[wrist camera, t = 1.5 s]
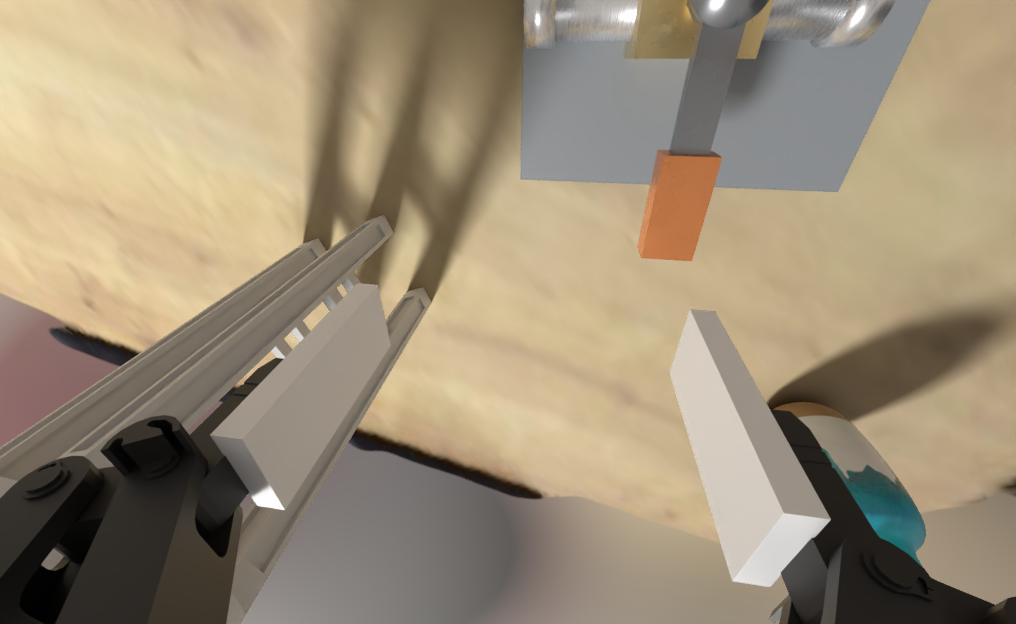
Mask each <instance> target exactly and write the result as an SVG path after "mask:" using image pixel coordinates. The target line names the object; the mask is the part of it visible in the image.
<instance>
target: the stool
mask: <svg viewBox="0 0 1016 624" xmlns="http://www.w3.org/2000/svg"><path fill="white" fill-rule="evenodd" d="M393 234H394V232H393V230H392V228H391V226H390V225H389V223H388V221H387V219H386V217H385V215H381V216H378V217H376V218H373V219H370V220H367V221H365V222H364V223H363V224H361V225H360V226H359V227H358V228H356V229H355V230H354V231H352V232H351V233H350V234H348V235H347V236H346V237H345V238H343V239H342V240H341V241H339V242H338V243H337V244H335V245H334V246H333V247H332V248H330V249H329V250H328V251H326V249H325V248H324V246H323V245H322V243H321V241H320V240H319V238H317V239H315V240H312V241H309V242H306V243H303V244H302V245H300V246H299V247H297V248H296V249H294V250H293V251H291V252H290V253H288V254H287V255H285V256H284V257H282V258H281V259H279V260H278V261H276V262H275V263H273V264H272V265H270V266H269V267H267V268H266V269H264V270H263V271H261V272H260V273H259V274H257V275H256V276H254V277H253V278H251V279H250V280H248V281H247V282H245V283H244V284H242V285H241V286H239V287H238V288H236V289H235V290H233V291H232V292H230V293H229V294H227V295H226V296H224V297H223V298H221V299H220V300H218V301H217V302H215V303H214V304H212V305H211V306H210V307H208V308H207V309H205V310H204V311H202V312H201V313H199V314H198V315H196V316H195V317H193V318H192V319H190V320H189V321H187V322H186V323H184V324H183V325H181V326H180V327H178V328H177V329H175V330H174V331H172V332H171V333H169V334H168V335H166V336H165V337H163V338H162V339H161V340H159V341H158V342H156V343H155V344H153V345H152V346H150V347H149V348H147V349H146V350H144V351H143V352H141V353H140V354H138V355H137V356H135V357H134V358H132V359H131V360H129V361H128V362H126V363H125V364H123V365H122V366H120V367H119V368H117V369H116V370H115V371H113V372H112V373H110V374H109V375H107V376H106V377H104V378H103V379H101V380H100V381H98V382H97V383H95V384H94V385H92V386H91V387H89V388H88V389H86V390H85V391H84V392H82V393H80V394H79V395H77V396H76V397H74V398H73V399H72V400H70V401H69V402H67V403H66V404H64V405H63V406H61V407H60V408H58V409H57V410H55V411H54V412H52V413H51V414H49V415H48V416H46V417H45V418H43V419H42V420H40V421H39V422H37V423H36V424H34V425H33V426H31V427H30V428H28V429H27V430H25V431H24V432H23V433H21V434H19V435H18V436H16V437H15V438H14V439H12V440H11V441H9V442H8V443H6V444H5V445H3V446H2V447H0V498H1V497H2V496H3V495H4V494H5V493H6V492H7V491H8V490H9V489H10V488H11V487H12V486H13V485H14V484H16V483H17V482H18V481H19V480H20V479H22V478H23V477H24V476H26V475H27V474H29V473H31V472H32V471H34V470H35V469H37V468H39V467H40V466H43V465H45V464H47V463H50V462H52V461H54V460H57V459H60V458H65V457H69V456H84V457H86V458H87V459H89V460H90V461H91V462H92V463H93V464H94V465H95V466H96V467H97V468H98V469H100V468H106V467H113V466H114V465H113V464H112V463H111V462H110V461H109V460H108V459H107V458H106V457H105V456H104V455H103V454H102V453H101V452H100V450H101V449H102V448H103V446H104V445H105V444H106V443H107V441H108V440H109V439H111V438H112V437H113V436H114V435H116V434H117V433H118V432H120V431H121V430H123V429H124V428H126V427H128V426H130V425H132V424H134V423H136V422H138V421H141V420H144V419H147V418H150V417H154V416H161V415H167V416H173V417H175V418H176V419H177V420H178V421H179V422H180V423H181V424H182V426H183V427H184V429H185V430H186V431H187V430H188V429H189V428H190V427H191V426H192V425H194V423H196V421H198V420H199V419H200V418H201V417H202V416H203V415H204V414H205V413H206V412H207V411H208V410H209V409H210V408H211V407H212V406H213V405H215V404H216V402H218V401H219V400H220V399H221V398H222V397H223V396H224V395H225V394H226V393H227V392H228V391H229V390H230V389H231V388H232V387H233V386H234V385H235V384H237V383H238V382H239V381H240V380H241V379H242V378H243V377H244V376H245V375H246V374H247V373H248V372H249V371H250V370H251V369H252V368H253V367H254V366H255V365H256V364H257V363H259V362H260V361H261V360H262V359H263V358H264V357H265V356H266V355H267V354H268V353H269V352H270V351H271V352H272V353H273V354H274V355H275V356H276V358H283V359H284V358H285V357H286V356H287V355H288V354H289V353H290V352H291V351H292V348H291V347H290V346H289V345H288V344H287V342H286V341H285V340H284V338H285V337H286V336H287V335H288V334H289V333H290V332H291V333H292V334H293V335H294V336H295V338H296V339H297V340H298V341H299V343H300V342H301V341H302V340H303V339H304V338H305V337H306V336H307V335H308V334H309V333H310V332H311V331H310V330H309V329H308V327H307V326H306V325H305V323H304V322H303V320H304V319H305V318H306V317H307V316H308V315H309V314H310V313H311V312H312V311H313V310H314V309H315V308H316V307H317V306H318V305H319V304H320V303H321V302H322V301H323V302H324V304H325V305H326V306H327V308H328V309H329V311H331V310H332V309H333V308H334V307H335V306H336V305H337V304H338V303H339V302H340V301H341V300H342V299H343V297H342V296H341V294H340V293H339V291H338V290H337V287H338V286H339V285H340V284H341V283H342V285H343V286H344V288H345V289H346V291H347V292H349V291H350V290H351V289H352V288H353V287H354V286H355V285H356V284H357V283H361V282H360V280H359V279H358V277H357V276H356V274H355V272H354V271H355V270H356V269H357V268H358V267H359V266H360V265H361V264H362V263H363V262H364V261H365V260H367V259H368V258H369V257H370V256H371V255H372V254H373V253H374V252H375V251H376V250H377V249H378V248H379V247H380V246H381V245H382V244H383V243H384V242H385V241H386V240H387V239H389V238H390V237H391V236H392V235H393ZM430 304H431V300H430V298H429V297H428V295H427V293H426V291H425V289H424V287H422V288H418V289H414V290H411V291H407V292H406V293H405V295H404V296H403V297H402V299H401V300H400V302H399V303H398V304H397V306H396V307H395V308H394V310H393V311H392V313H391V314H390V315H389V317H388V318H387V319H386V325H387V330H388V334H389V339H390V344H391V346H390V348H389V349H388V351H387V352H386V354H385V356H384V357H383V359H382V360H381V362H380V363H379V365H378V366H377V368H376V370H375V371H374V373H373V374H372V376H371V377H370V379H369V380H368V382H367V384H366V385H365V387H364V388H363V390H362V391H361V393H360V394H359V396H358V398H357V399H356V401H355V402H354V404H353V405H352V407H351V408H350V410H349V412H348V413H347V415H346V416H345V418H344V419H343V421H342V422H341V424H340V426H339V427H338V429H337V430H336V432H335V433H334V435H333V436H332V438H331V440H330V441H329V443H328V444H327V446H326V447H325V449H324V450H323V452H322V454H321V455H320V457H319V458H318V460H317V461H316V463H315V464H314V466H313V468H312V469H311V471H310V472H309V474H308V475H307V477H306V478H305V480H304V482H303V483H302V485H301V486H300V488H299V489H298V491H297V492H296V494H295V496H294V497H293V499H292V500H291V502H290V503H289V505H288V506H287V508H286V510H280V509H274V508H268V507H261V506H257V505H256V503H255V502H253V503H252V505H251V506H250V507H249V509H248V510H247V512H246V513H245V515H243V519H242V526H241V532H240V539H239V545H238V551H237V558H236V564H235V571H234V577H233V584H232V590H231V597H230V603H229V610H228V616H227V622H226V624H240V623H241V622H242V620H243V618H244V617H245V615H246V613H247V612H248V610H249V608H250V607H251V605H252V603H253V601H254V600H255V598H256V596H257V595H258V593H259V591H260V590H261V588H262V586H263V585H264V583H265V581H266V580H267V578H268V576H269V574H270V573H271V571H272V570H273V568H274V566H275V565H276V563H277V561H278V560H279V558H280V556H281V554H282V553H283V551H284V549H285V548H286V546H287V544H288V542H289V541H290V539H291V537H292V536H293V534H294V533H295V531H296V529H297V528H298V526H299V524H300V523H301V521H302V519H303V518H304V516H305V514H306V512H307V511H308V509H309V507H310V506H311V504H312V502H313V501H314V499H315V497H316V495H317V494H318V492H319V491H320V489H321V487H322V486H323V484H324V482H325V481H326V479H327V477H328V476H329V474H330V472H331V470H332V469H333V467H334V465H335V464H336V462H337V460H338V458H339V457H340V455H341V454H342V452H343V450H344V449H345V447H346V445H347V444H348V442H349V440H350V439H351V437H352V435H353V433H354V432H355V430H356V428H357V427H358V425H359V423H360V422H361V420H362V418H363V417H364V415H365V413H366V412H367V410H368V408H369V407H370V405H371V403H372V402H373V400H374V398H375V397H376V395H377V393H378V391H379V390H380V388H381V386H382V385H383V383H384V381H385V380H386V378H387V376H388V375H389V373H390V371H391V370H392V368H393V366H394V365H395V363H396V361H397V360H398V358H399V356H400V355H401V353H402V351H403V349H404V348H405V346H406V344H407V343H408V341H409V339H410V338H411V336H412V334H413V333H414V331H415V329H416V328H417V326H418V324H419V323H420V321H421V319H422V318H423V316H424V314H425V313H426V311H427V309H428V307H429V306H430ZM63 557H64V556H63V555H61V554H60V553H59V552H57V551H56V550H55V549H53V550H52V551H51V552H50V554H49V555H48V556H47V557H46V559H45V560H44V561H43V563H42V564H41V565H42V566H44V567H45V568H47V569H48V570H51V569H53V568H54V567H55V566H56V565H57V564H58V563H59V562H60V561H61V559H62V558H63Z"/></svg>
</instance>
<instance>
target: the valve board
mask: <svg viewBox="0 0 1016 624" xmlns="http://www.w3.org/2000/svg"><path fill="white" fill-rule="evenodd" d="M929 2H930V0H896V1H895V3H894V5H893V7H892V9H891V10H890V12H889V14H888V15H887V17H886V18H885V20H884V21H883V23H882V24H881V25H880V26H879V28H878V29H877V30H876V31H875V32H874V33H873V35H872V36H871V37H870V38H868V39H867V40H866V41H865V42H863V43H862V44H860V45H859V46H856V47H853V48H815V47H813V46H812V45H811V43H810V40H774V41H761V44H760V47H759V51H758V54H757V57H756V59H736V62H735V65H734V69H733V72H732V76H731V80H730V83H729V87H728V90H727V94H726V98H725V101H724V105H723V108H722V112H721V115H720V119H719V123H718V126H717V130H716V133H715V137H714V141H713V144H712V148H711V151H714V152H715V153H717V154H718V155H720V156H721V157H723V158H722V161H721V165H720V168H719V171H718V175H717V178H716V181H715V185H714V187H723V188H748V189H773V190H797V191H822V192H838V191H839V189H840V187H841V185H842V183H843V180H844V178H845V176H846V174H847V172H848V170H849V168H850V166H851V164H852V162H853V160H854V158H855V156H856V153H857V151H858V149H859V147H860V145H861V143H862V141H863V139H864V137H865V135H866V133H867V131H868V129H869V126H870V124H871V122H872V120H873V118H874V116H875V114H876V112H877V110H878V108H879V106H880V104H881V102H882V99H883V97H884V95H885V93H886V91H887V89H888V87H889V85H890V83H891V81H892V79H893V77H894V74H895V72H896V70H897V68H898V66H899V64H900V62H901V60H902V58H903V56H904V54H905V52H906V50H907V47H908V45H909V43H910V41H911V39H912V37H913V35H914V33H915V31H916V29H917V27H918V25H919V23H920V20H921V18H922V16H923V14H924V12H925V10H926V8H927V6H928V4H929ZM625 44H626V41H559V42H556V47H555V48H550V49H527V48H526V45H525V37H524V24H523V77H522V130H521V179H523V180H548V181H573V182H598V183H623V184H648V185H650V184H651V179H652V174H653V169H654V165H655V160H656V155H657V150H670V145H671V141H672V136H673V132H674V127H675V123H676V118H677V114H678V109H679V105H680V100H681V96H682V91H683V87H684V82H685V78H686V73H687V69H688V64H689V60H690V59H623V58H624V51H625Z"/></svg>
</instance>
